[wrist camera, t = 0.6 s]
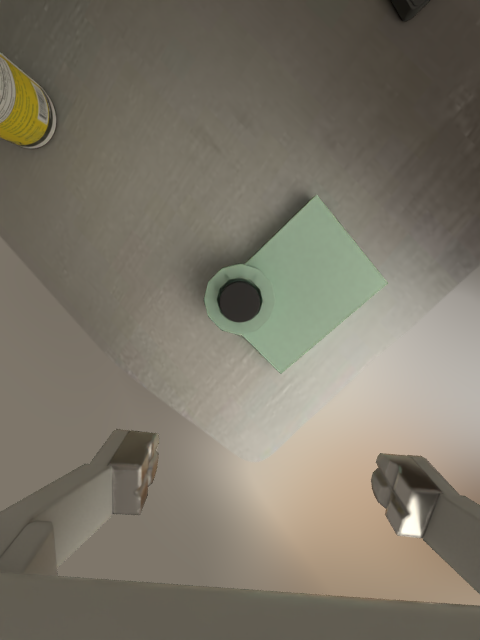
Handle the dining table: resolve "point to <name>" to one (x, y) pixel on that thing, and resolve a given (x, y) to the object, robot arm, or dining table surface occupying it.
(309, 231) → the scale
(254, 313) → the tare button
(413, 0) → the phone
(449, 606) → the robot arm
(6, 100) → the supplement bottle
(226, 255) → the dining table surface
